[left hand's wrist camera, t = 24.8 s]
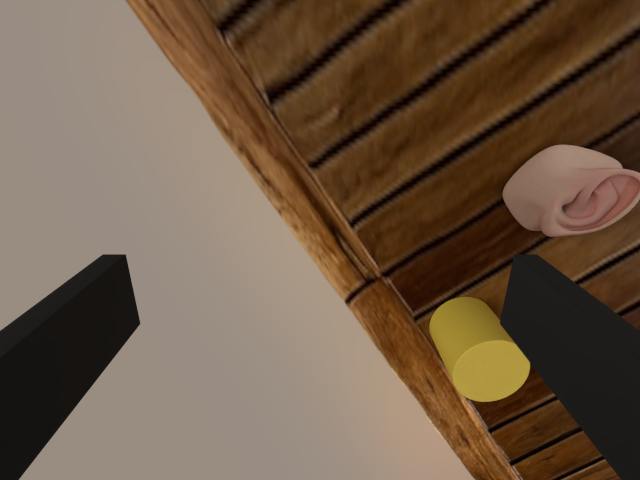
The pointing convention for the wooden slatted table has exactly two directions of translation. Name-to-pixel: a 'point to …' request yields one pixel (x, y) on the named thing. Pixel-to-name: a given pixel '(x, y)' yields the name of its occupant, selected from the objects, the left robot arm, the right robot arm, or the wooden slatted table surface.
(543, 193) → the anatomical model
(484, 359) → the canister
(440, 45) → the wooden slatted table surface
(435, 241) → the wooden slatted table surface
